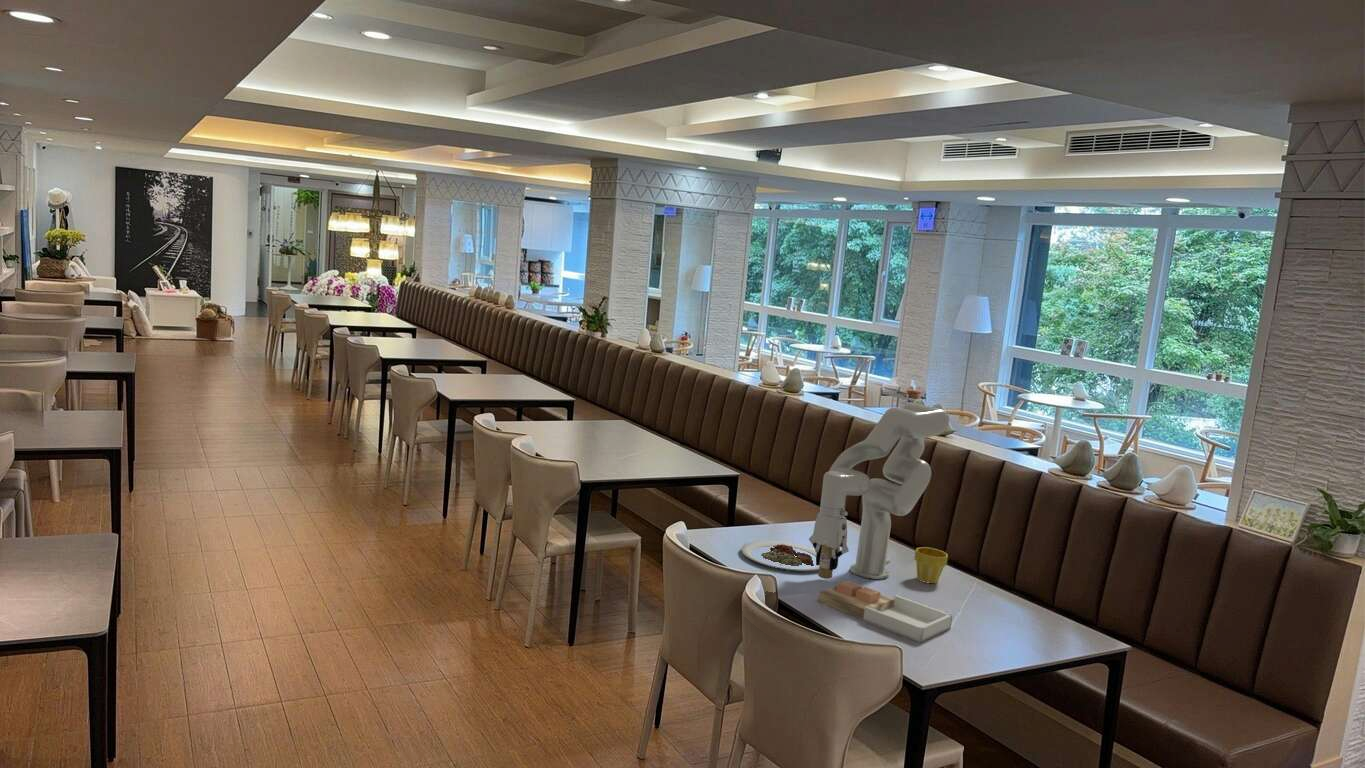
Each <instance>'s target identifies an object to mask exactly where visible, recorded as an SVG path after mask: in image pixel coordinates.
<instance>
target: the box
mask: <svg viewBox="0 0 1365 768" xmlns="http://www.w3.org/2000/svg"><path fill="white" fill-rule="evenodd" d="M893 599H894V606H893V607H892V608H889V609H887V610H884V611H881V612H880V611H877V610H875V609H872V608H869V607H865V610H864V617H863V619H862V622H865V623H867V624H868V623H869V624H871V625H873V626H876V627H878V628H881V629H883V630H886V631H889V632H890V633H894V634H896V635H899V636H902V637H903V638H906V639H910V640H912V641H915V642H917V643H918V644H919V643H920V644H922V643H923V642H925V641H928V640H929V639H931V638H934V637H937V635H939V634H940V635H941V634H942V633H944V632H947V631H948V630H951V628H952V622H953V617H954V616H953V614H951V613H947V612H946V611H943V610H940V609H936V608H933V607H931V606H927V605H925V604H923V603H920V602H917V601H914V600H911V599H909V598H905V597H903V596H899V595H894V598H893Z"/></svg>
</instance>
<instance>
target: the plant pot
mask: <svg viewBox="0 0 1365 768" xmlns="http://www.w3.org/2000/svg"><path fill="white" fill-rule="evenodd" d="M948 557H949V555H948V553H947V552H945V551H943V550H939V549H937V548H933V547H926V546H922V547H917V548H916V549H915V551H914V560H915V562H916V564H915V566H916V579H917V578H918V579H919V580H921V581H925V582H929V583H936V584H937V583H938V582H939V580H940V577H941V574H942V573H943V570H944V568H945V567H946V566H947V563H948V559H949V558H948ZM918 579H917V580H918ZM919 580H918V581H919ZM921 581H920V582H921Z"/></svg>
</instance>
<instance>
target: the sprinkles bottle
mask: <svg viewBox="0 0 1365 768" xmlns="http://www.w3.org/2000/svg"><path fill="white" fill-rule="evenodd" d="M824 543H826V541H824ZM831 558H832V548H829V547H827V546H826V545H822V547H821V556H820V563H819V570H818V573H817V576H818V577H819V578H822V579H825V580H829V579H831V578H833V572H834V571H833V570H830V569H829V568H830V559H831Z"/></svg>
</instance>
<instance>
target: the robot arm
mask: <svg viewBox="0 0 1365 768" xmlns="http://www.w3.org/2000/svg"><path fill="white" fill-rule="evenodd" d="M949 424H950V416H949V414H948V413H947V412H946V411H945V410H944V409H941V408H937V407H935V406H930V405H926V404H922V403H915V402H908V403H907V404H904V406H903V407H902V408H901V407H891V408H889V409H887V410H886V411H885V412H884V414H883V415H882V416H881V418H880V419H879V420H878V422H877V423H876V424H875V425H874V427H873V429H872V430H871V431H870V433H869V434H868V436H866V438H865V439H864V440H862V441H860V442H858V443H856V444H854V445H852V446H851V447H848V448H847V449H845V450H844V451H842V452H841V453H840V454H839V456H838V457H837V458H836V459H835V461H834V462H833V464H832V465H831V466H830V468H829V471H827V472H825V473H824V475H823V480H822V487H821V488H822V489H821V498H820V508H819V512H817V516H816V519H815V523H814V528H813V532H812V535H811V536H809V538H808V541H809V542H810V544H811V545H812V546H813V547H812V548H814V549H815V552H816V553H817V554H816V565H817V566H818V565H819V563H820V556H821V547H822V545H826V546H827V547H829V548H832V558H831V559H830V568H829V569H830V570H834V571H835V570H837V568H838V565H839V564H838V563H839V558H840V557H841V556H842V555H843V556H844V554H846V553H849V552H850V550H849V547H848V545H847V542H848V522H847V521H848V520H847V517H846V516H848V515H849V514H848V513H849V512H848V511H846V500H847V496H856V497H858V496H859V497H860V496H861V497H862V498H861V499H862V512H861V513H862V516H861V524H860V530H859V537H858V543H857V552H856V559H855V563H852V564H851V565H850V566H849V567H850V568H849V570H850V571H851V573H852V572H853V574H854V575H856V576H858V575H859V577H861V576H862V578H867V579H870V578H871V580H872V579H873V580H884V578H885V579H887V578H889V576H890V573H889V571H888V570H887V569H886V565H889V564H890V563H891V559H890V558H887V556H888V550H889V540H890V536H891V535H890V534H891V528H892V518H891V514H893V515H894V516H900V517H903V516H906V515H908V514H909V513H910V512H911V511H912V510H913V509H914V507H915V506H916V504H917V503H918V501H919V499H920V498H921V497H922V495H923V493H924V492H925V491H926V489H927V488H928V485H929V484H930V481H931V478H932V469H931V466H930V464H929V463H928V462H926V461H925V460H923V459H920V458H921V457H922V455H923V453H924V451H925V439H924V438H931V437H935V436H940V435H942V434H943V433H945V432H946V431H947V429H948V427H949ZM897 442H898V443H897ZM896 443H897V444H896ZM893 448H894V449H893ZM892 449H893V450H892ZM891 451H892V452H891ZM890 452H891V453H890ZM889 454H890V455H889ZM888 455H889V456H888ZM887 456H888V458H887V460H886V461H885V462H884V464H883V467H882V474H883V476H884V477H885V478H887V479H888V480H887V479H884V478H878V477H877V478H876V477H875V478H871V479H870V477H869V476H868V475H867V474H866V473H864V472H862V471H858V470H856V469H854V467H855V466H856V465H857V464H860V463H862V462H865V461H871V460H876V459H880V458H881V459H883V458H885V457H887ZM889 480H890V481H889ZM824 541H826V543H824Z"/></svg>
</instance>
